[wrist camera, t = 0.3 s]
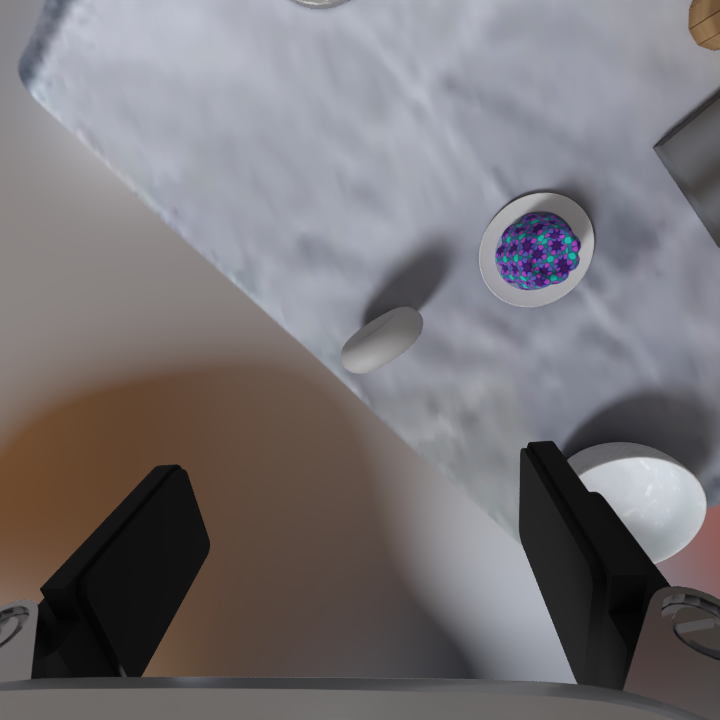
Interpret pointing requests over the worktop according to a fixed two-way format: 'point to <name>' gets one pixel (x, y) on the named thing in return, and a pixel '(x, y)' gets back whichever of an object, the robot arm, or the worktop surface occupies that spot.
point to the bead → (705, 23)
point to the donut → (382, 340)
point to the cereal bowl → (645, 493)
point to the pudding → (537, 250)
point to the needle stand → (697, 162)
